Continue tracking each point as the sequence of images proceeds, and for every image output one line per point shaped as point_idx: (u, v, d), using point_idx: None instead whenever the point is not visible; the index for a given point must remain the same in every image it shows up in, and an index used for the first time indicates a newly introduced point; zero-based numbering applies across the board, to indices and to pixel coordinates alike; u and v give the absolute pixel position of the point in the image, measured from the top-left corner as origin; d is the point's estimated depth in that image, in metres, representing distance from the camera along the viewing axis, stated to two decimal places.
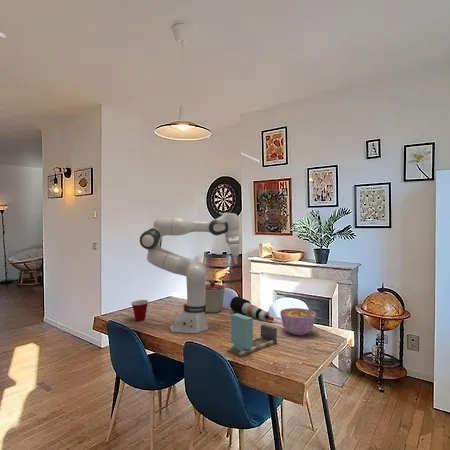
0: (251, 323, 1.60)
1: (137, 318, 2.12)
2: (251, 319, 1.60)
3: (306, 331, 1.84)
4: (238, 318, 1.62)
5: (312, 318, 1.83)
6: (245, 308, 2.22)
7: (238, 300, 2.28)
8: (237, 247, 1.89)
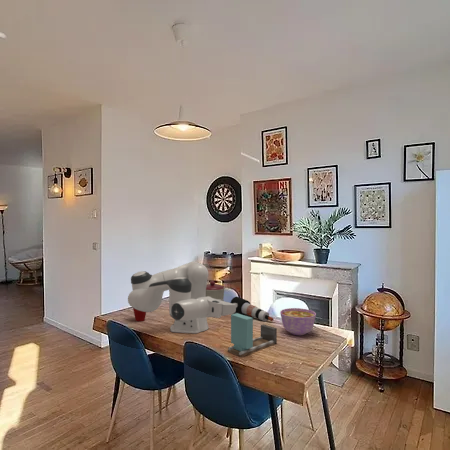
0: (251, 323, 1.60)
1: (137, 318, 2.12)
2: (251, 319, 1.60)
3: (306, 331, 1.84)
4: (238, 318, 1.62)
5: (312, 318, 1.83)
6: (245, 308, 2.22)
7: (238, 300, 2.28)
8: (227, 306, 1.44)
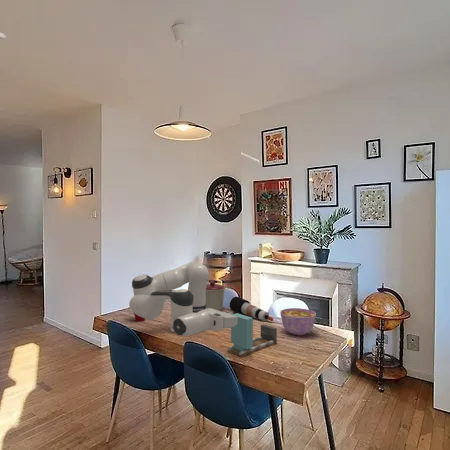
0: (251, 323, 1.60)
1: (137, 318, 2.12)
2: (251, 319, 1.60)
3: (306, 331, 1.84)
4: (238, 318, 1.62)
5: (312, 318, 1.83)
6: (244, 308, 2.22)
7: (237, 300, 2.28)
8: (229, 319, 1.44)
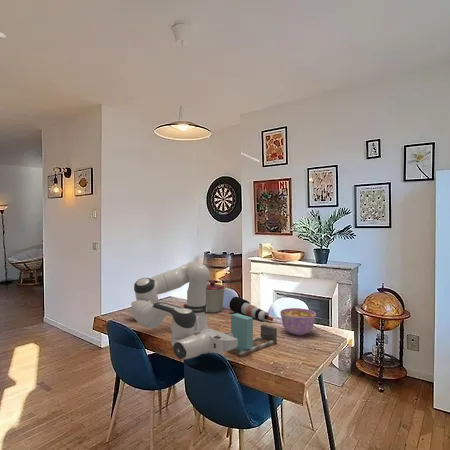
0: (251, 323, 1.60)
1: None
2: (251, 319, 1.60)
3: (306, 331, 1.84)
4: (238, 318, 1.62)
5: (312, 318, 1.83)
6: (244, 308, 2.22)
7: (237, 300, 2.28)
8: (229, 341, 1.45)
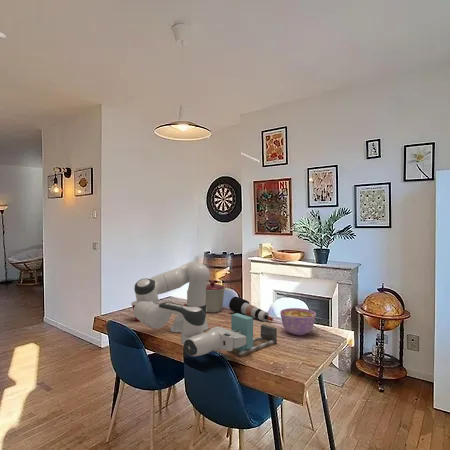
0: (252, 323, 1.60)
1: None
2: (251, 319, 1.60)
3: (306, 331, 1.84)
4: (238, 318, 1.62)
5: (312, 318, 1.83)
6: (244, 308, 2.22)
7: (237, 300, 2.28)
8: (238, 339, 1.48)
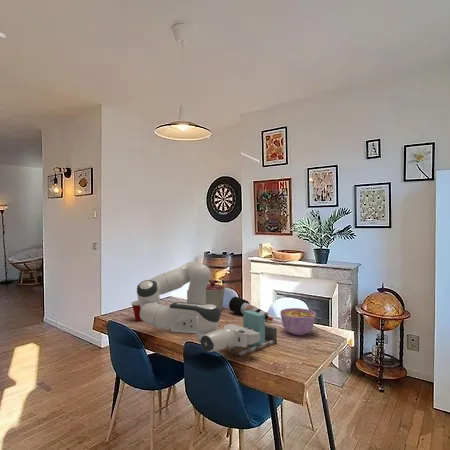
0: (264, 320, 1.66)
1: (137, 318, 2.12)
2: (263, 316, 1.66)
3: (306, 331, 1.84)
4: (251, 314, 1.68)
5: (312, 318, 1.83)
6: (244, 308, 2.22)
7: (237, 300, 2.27)
8: (253, 335, 1.53)
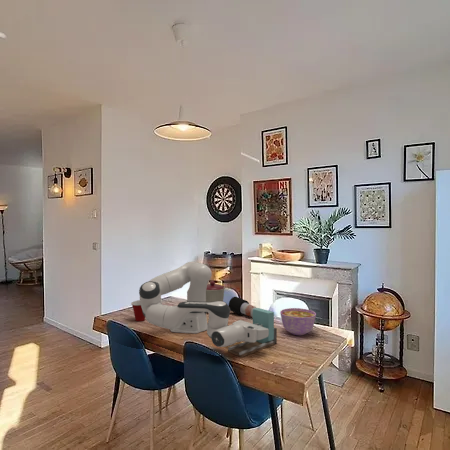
0: (273, 317, 1.70)
1: (137, 318, 2.12)
2: (272, 313, 1.70)
3: (306, 331, 1.84)
4: (260, 312, 1.72)
5: (312, 318, 1.83)
6: (244, 308, 2.21)
7: (236, 300, 2.27)
8: (261, 331, 1.58)
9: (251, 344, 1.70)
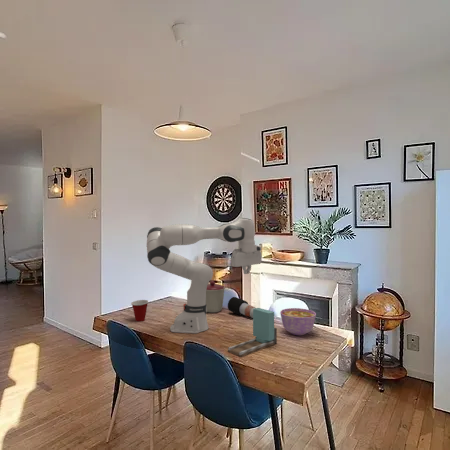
0: (273, 317, 1.71)
1: (137, 318, 2.12)
2: (273, 313, 1.70)
3: (306, 331, 1.84)
4: (260, 312, 1.72)
5: (312, 318, 1.83)
6: (243, 309, 2.21)
7: (236, 301, 2.27)
8: None
9: (251, 344, 1.70)
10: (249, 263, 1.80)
